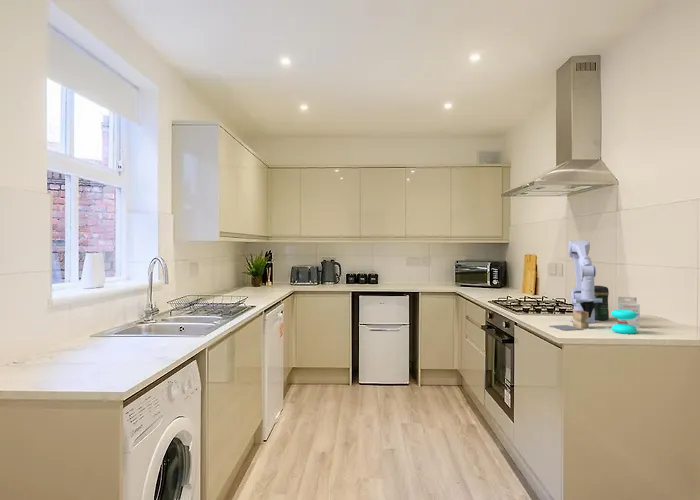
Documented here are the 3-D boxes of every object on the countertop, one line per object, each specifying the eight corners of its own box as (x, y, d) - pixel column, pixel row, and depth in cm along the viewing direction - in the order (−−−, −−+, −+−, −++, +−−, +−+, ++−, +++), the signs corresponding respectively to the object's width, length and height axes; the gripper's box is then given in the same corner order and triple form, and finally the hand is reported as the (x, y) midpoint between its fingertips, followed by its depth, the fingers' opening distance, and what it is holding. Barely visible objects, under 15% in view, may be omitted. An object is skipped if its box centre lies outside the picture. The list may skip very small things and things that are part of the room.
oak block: (580, 326, 219) (580, 310, 220) (588, 328, 214) (588, 312, 214) (573, 326, 219) (572, 310, 219) (581, 328, 213) (581, 312, 213)
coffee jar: (611, 320, 237) (611, 286, 237) (597, 320, 236) (597, 286, 236) (600, 317, 246) (599, 284, 246) (586, 318, 246) (586, 285, 246)
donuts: (607, 310, 205) (618, 308, 210) (607, 331, 205) (618, 329, 210) (630, 313, 196) (641, 311, 202) (630, 335, 196) (641, 333, 202)
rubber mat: (567, 325, 222) (567, 325, 222) (583, 329, 210) (583, 329, 210) (549, 326, 220) (549, 325, 220) (564, 330, 208) (564, 329, 208)
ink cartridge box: (619, 327, 216) (619, 297, 216) (617, 325, 221) (617, 296, 221) (640, 328, 213) (639, 298, 213) (637, 326, 218) (636, 297, 218)
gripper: (580, 290, 212) (580, 318, 212) (606, 290, 214) (606, 318, 214) (570, 289, 219) (570, 316, 219) (596, 289, 221) (596, 315, 221)
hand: (587, 317), depth 217 cm, fingers closed
